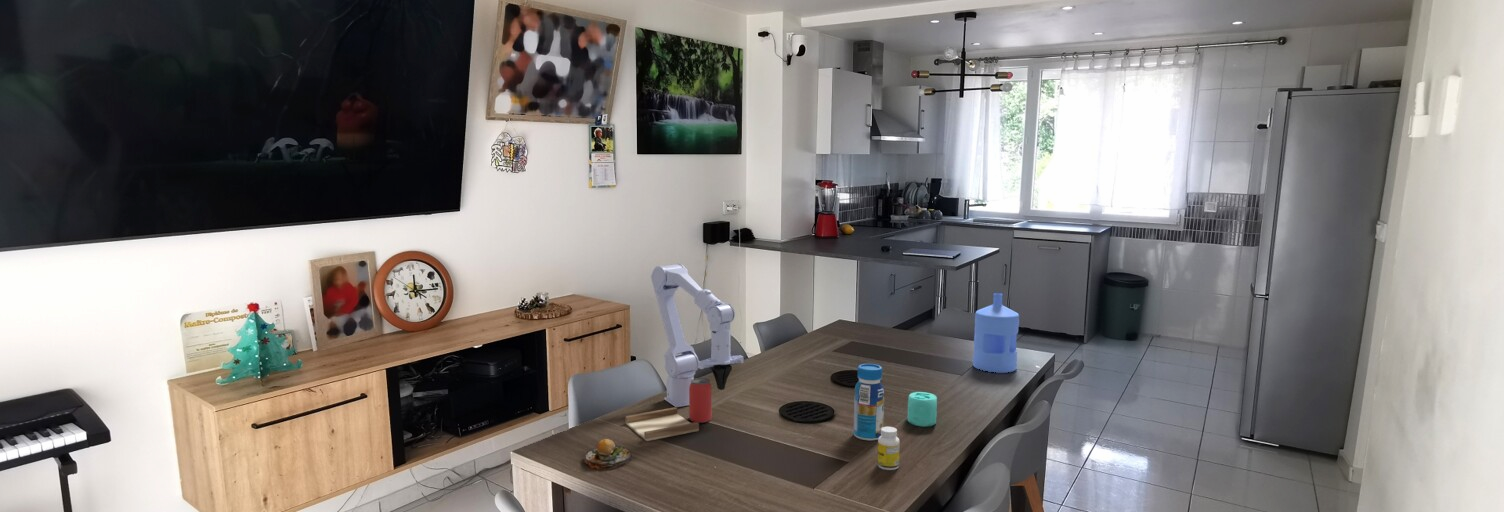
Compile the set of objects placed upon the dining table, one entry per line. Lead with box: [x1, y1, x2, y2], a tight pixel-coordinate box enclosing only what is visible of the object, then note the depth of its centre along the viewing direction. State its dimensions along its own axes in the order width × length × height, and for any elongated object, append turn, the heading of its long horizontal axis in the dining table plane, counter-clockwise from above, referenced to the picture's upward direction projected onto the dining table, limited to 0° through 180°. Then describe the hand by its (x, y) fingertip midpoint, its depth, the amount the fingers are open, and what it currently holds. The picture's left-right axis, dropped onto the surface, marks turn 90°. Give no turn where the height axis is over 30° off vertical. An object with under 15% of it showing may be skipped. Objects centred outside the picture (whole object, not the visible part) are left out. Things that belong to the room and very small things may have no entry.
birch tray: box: [624, 406, 700, 442], centre depth 217 cm, size 16×16×2 cm
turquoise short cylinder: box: [907, 391, 938, 428], centre depth 221 cm, size 8×8×8 cm
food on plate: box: [584, 437, 633, 470], centre depth 193 cm, size 12×12×8 cm
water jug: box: [972, 292, 1020, 374], centre depth 278 cm, size 16×16×28 cm
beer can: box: [688, 377, 713, 424], centre depth 222 cm, size 7×7×12 cm
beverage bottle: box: [853, 363, 885, 442], centre depth 209 cm, size 8×8×20 cm
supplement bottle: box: [876, 426, 901, 471], centre depth 189 cm, size 5×5×10 cm
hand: (720, 388), depth 225 cm, fingers closed
